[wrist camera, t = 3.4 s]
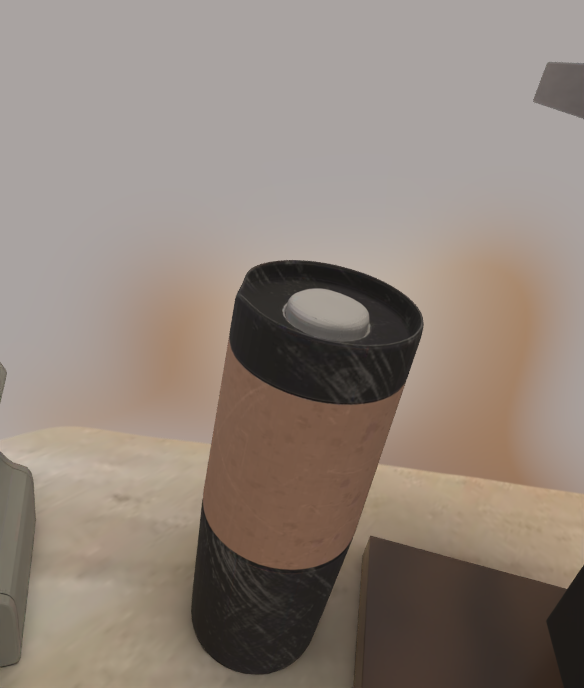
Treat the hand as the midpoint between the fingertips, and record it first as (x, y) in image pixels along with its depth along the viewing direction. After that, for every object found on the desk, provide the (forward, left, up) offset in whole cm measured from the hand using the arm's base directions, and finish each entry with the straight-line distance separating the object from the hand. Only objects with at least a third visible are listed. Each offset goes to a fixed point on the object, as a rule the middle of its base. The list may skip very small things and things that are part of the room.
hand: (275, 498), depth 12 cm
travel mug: (0, -11, -20) cm, 23 cm away
